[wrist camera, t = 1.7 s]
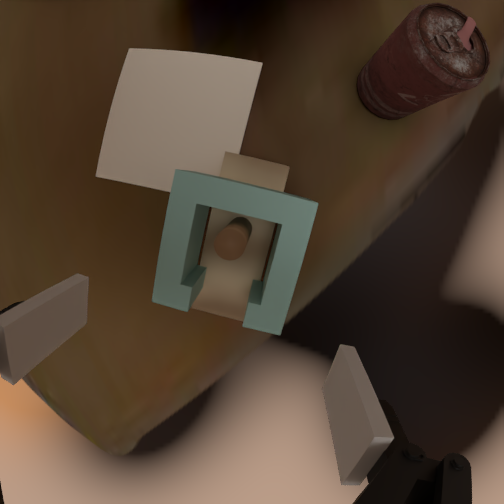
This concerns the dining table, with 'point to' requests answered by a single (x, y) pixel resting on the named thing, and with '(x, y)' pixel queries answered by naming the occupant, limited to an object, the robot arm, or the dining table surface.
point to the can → (424, 62)
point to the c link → (191, 235)
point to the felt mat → (175, 115)
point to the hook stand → (237, 241)
